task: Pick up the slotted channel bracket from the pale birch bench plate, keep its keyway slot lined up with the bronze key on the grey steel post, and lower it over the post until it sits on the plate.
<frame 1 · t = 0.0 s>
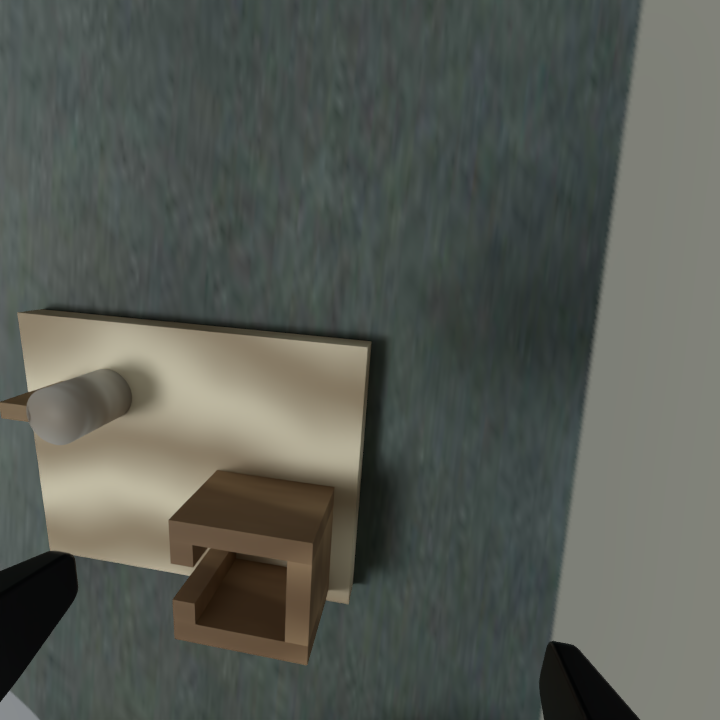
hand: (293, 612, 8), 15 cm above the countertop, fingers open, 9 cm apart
bench plate: (201, 450, 24), on the countertop
slotted channel bracket: (273, 531, 23), point 1 cm above the countertop, touching bench plate
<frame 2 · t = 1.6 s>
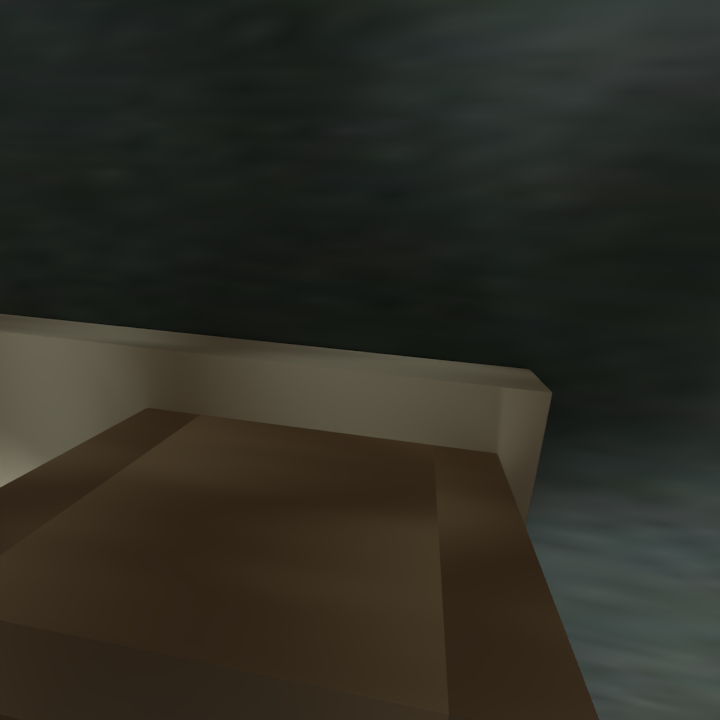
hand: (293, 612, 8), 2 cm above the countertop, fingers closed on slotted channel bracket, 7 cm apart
bench plate: (191, 666, 12), on the countertop
slotted channel bracket: (305, 578, 8), point 1 cm above the countertop, touching bench plate, gripper
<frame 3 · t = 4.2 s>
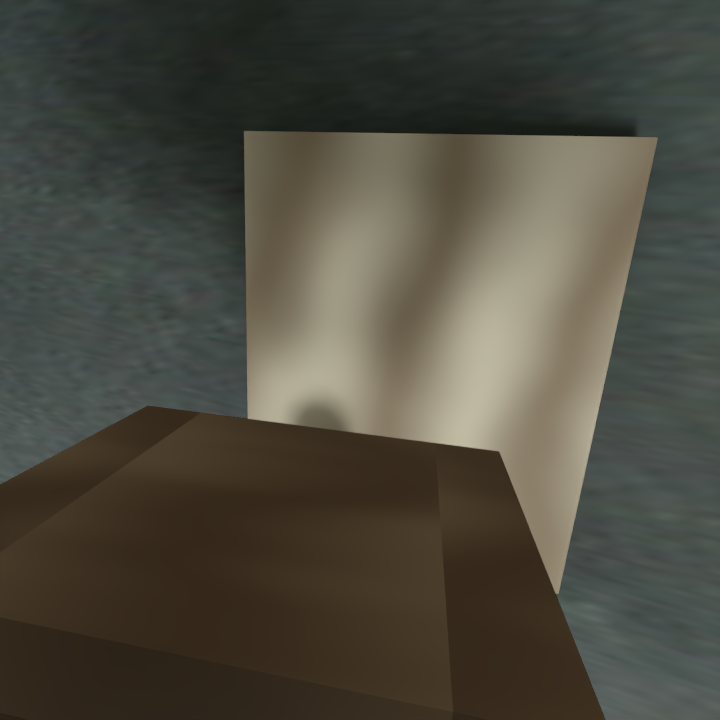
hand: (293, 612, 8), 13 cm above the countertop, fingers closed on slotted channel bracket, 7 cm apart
bench plate: (414, 370, 19), on the countertop
slotted channel bracket: (306, 577, 8), point 12 cm above the countertop, touching gripper
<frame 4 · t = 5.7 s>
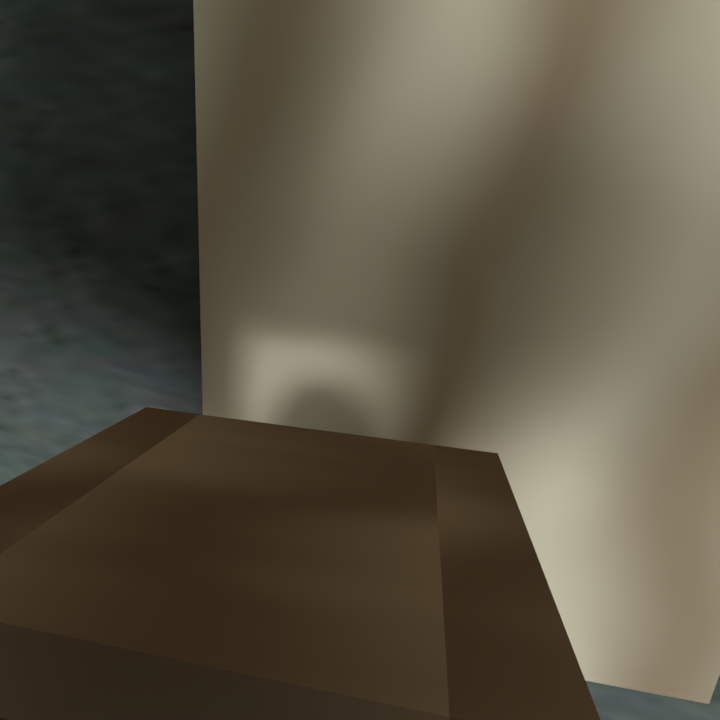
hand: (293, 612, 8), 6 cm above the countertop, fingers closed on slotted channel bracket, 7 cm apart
bench plate: (478, 337, 12), on the countertop
slotted channel bracket: (305, 579, 8), point 5 cm above the countertop, touching gripper
when the fingers open (3 cm above the countertop, at t = 6.7 s): slotted channel bracket stays where it is, resting on bench plate.
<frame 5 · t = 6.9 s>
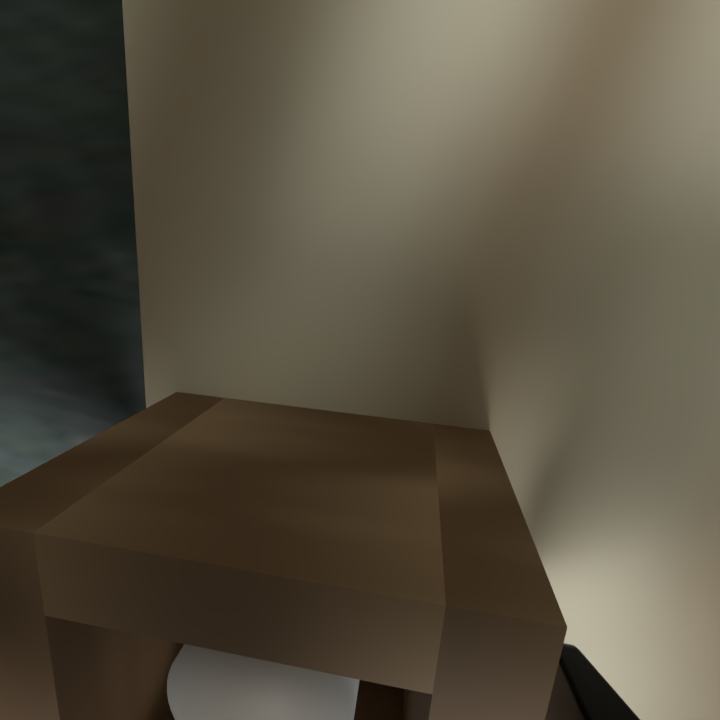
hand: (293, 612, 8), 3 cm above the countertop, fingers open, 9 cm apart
bench plate: (494, 356, 9), on the countertop
slotted channel bracket: (318, 547, 9), point 1 cm above the countertop, touching bench plate
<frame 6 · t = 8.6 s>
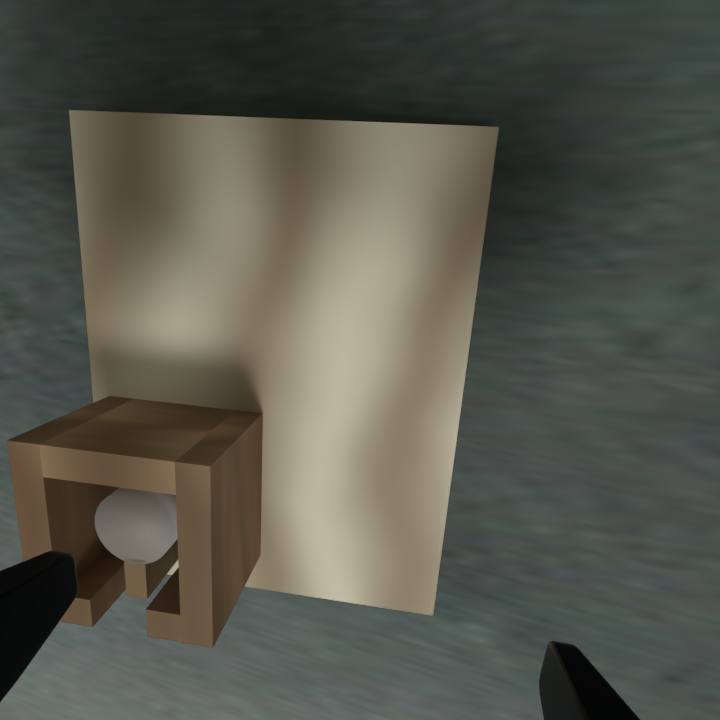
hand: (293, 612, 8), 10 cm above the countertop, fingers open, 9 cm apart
bench plate: (279, 375, 18), on the countertop
slotted channel bracket: (186, 477, 18), point 1 cm above the countertop, touching bench plate
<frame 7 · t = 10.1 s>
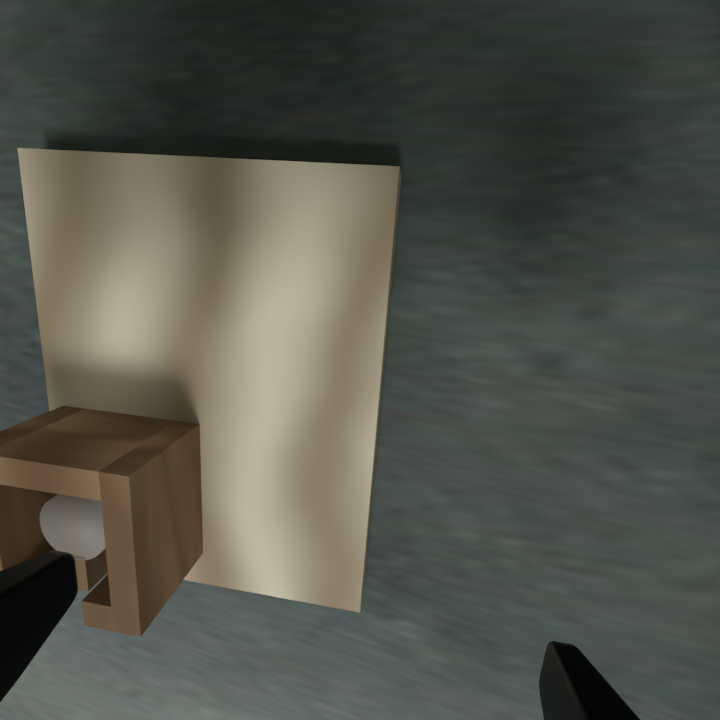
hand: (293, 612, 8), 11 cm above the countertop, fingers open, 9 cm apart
bench plate: (219, 388, 19), on the countertop
slotted channel bracket: (134, 480, 19), point 1 cm above the countertop, touching bench plate
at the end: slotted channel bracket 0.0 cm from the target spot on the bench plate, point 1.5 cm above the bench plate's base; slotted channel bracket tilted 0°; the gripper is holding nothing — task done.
